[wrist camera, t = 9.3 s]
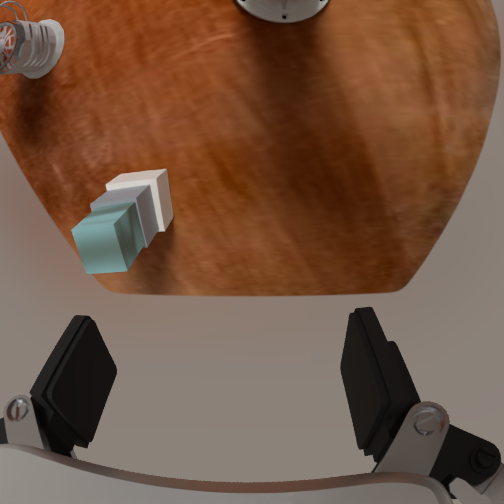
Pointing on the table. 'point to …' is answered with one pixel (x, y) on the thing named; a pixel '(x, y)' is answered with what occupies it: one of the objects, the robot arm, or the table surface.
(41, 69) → the french press
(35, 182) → the table surface
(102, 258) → the teal pillar
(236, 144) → the table surface
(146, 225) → the tower top
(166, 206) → the block
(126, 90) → the table surface
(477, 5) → the table surface
